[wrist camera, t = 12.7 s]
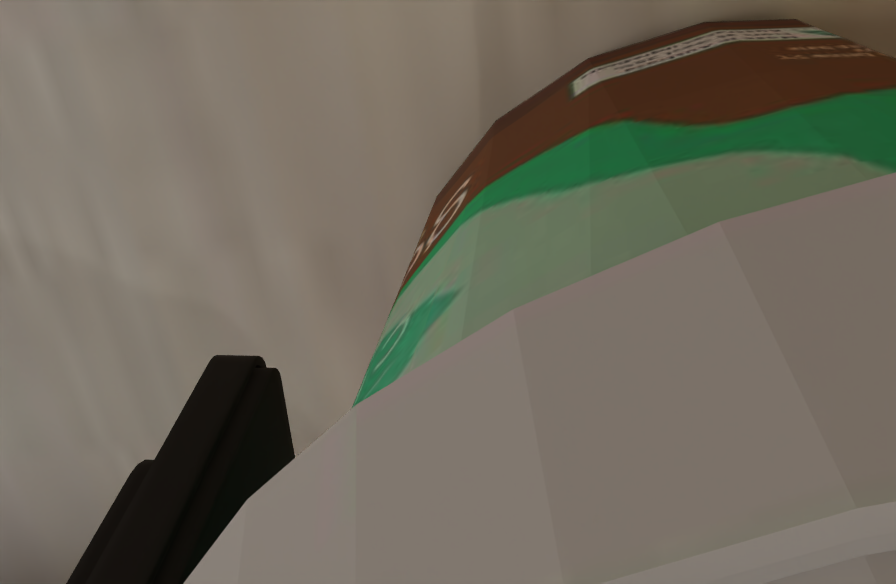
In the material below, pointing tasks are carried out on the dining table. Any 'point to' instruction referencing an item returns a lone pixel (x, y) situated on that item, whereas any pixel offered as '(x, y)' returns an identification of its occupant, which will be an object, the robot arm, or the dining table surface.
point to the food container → (629, 342)
